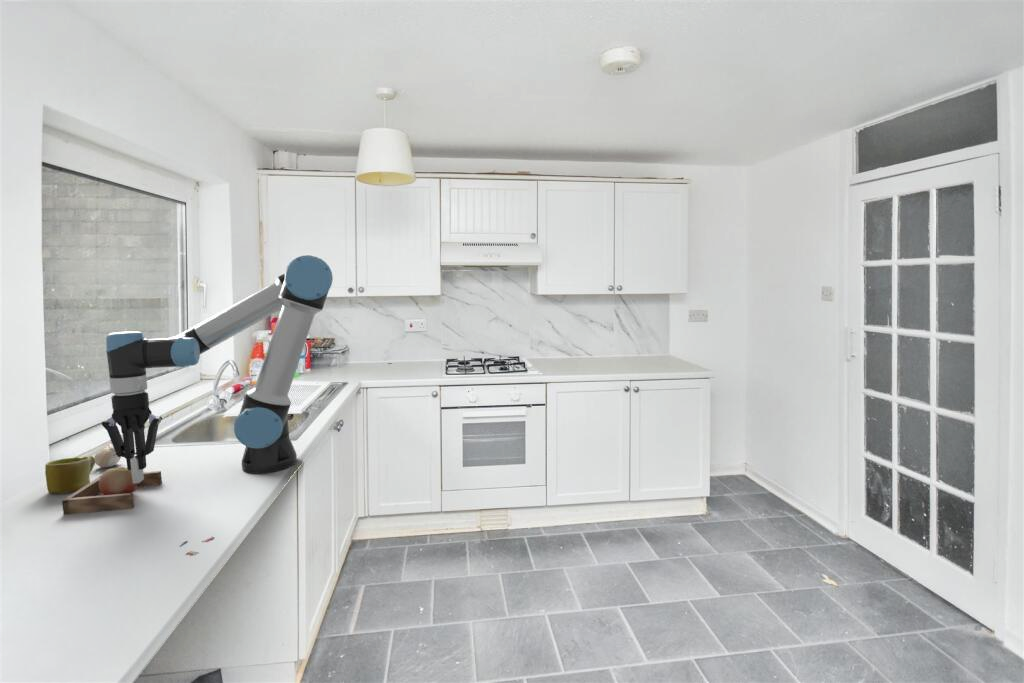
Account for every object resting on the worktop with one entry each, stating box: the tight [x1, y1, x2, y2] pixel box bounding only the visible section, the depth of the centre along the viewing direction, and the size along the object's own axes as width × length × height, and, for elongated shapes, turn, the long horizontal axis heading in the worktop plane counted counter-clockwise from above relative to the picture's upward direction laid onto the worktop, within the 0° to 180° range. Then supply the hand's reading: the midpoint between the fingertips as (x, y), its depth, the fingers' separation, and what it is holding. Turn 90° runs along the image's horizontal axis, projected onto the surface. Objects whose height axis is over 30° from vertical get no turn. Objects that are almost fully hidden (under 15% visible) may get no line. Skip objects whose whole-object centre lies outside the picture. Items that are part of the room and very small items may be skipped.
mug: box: [44, 455, 96, 495], centre depth 138 cm, size 12×10×10 cm
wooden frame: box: [61, 470, 163, 515], centre depth 132 cm, size 14×16×4 cm
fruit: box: [99, 466, 138, 495], centre depth 132 cm, size 8×8×8 cm
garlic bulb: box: [93, 442, 121, 469], centre depth 154 cm, size 7×6×8 cm
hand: (138, 481), depth 132 cm, fingers closed
